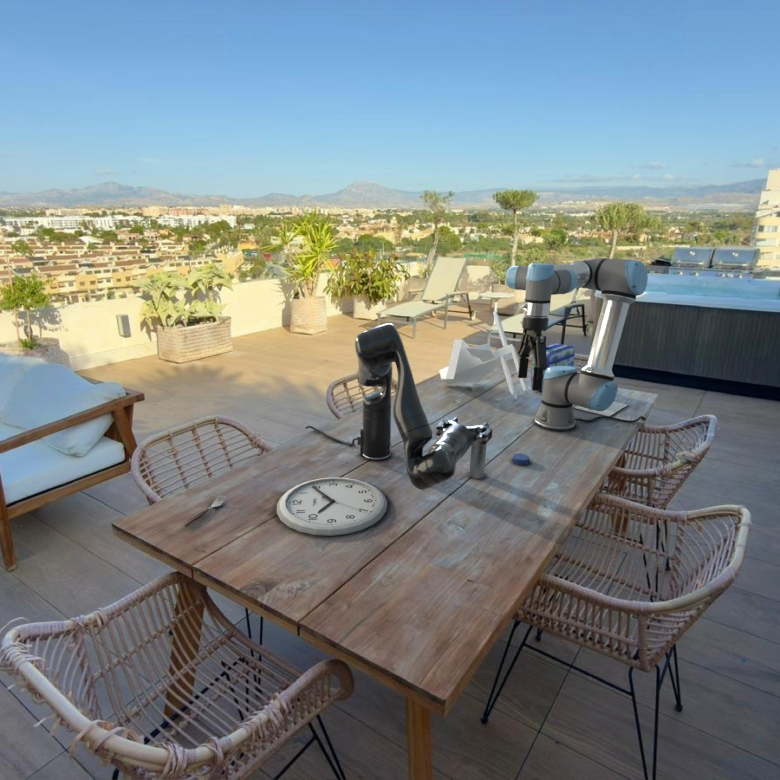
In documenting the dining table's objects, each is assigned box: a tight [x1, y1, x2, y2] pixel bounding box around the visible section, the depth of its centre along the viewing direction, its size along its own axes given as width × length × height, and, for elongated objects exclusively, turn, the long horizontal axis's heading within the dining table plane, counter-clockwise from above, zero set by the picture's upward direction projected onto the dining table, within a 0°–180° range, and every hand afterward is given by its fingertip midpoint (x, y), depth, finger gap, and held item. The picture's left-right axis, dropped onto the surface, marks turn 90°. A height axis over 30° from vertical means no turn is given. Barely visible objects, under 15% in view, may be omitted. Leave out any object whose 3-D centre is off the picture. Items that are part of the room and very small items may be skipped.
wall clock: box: [276, 476, 388, 537], centre depth 142 cm, size 30×2×30 cm
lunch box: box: [530, 343, 576, 391], centre depth 249 cm, size 26×11×21 cm, turn 134°
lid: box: [512, 453, 530, 466], centre depth 171 cm, size 5×5×2 cm
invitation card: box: [573, 400, 629, 417], centre depth 226 cm, size 21×1×15 cm
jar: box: [468, 424, 488, 480], centre depth 159 cm, size 4×4×16 cm
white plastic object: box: [438, 310, 531, 400], centre depth 245 cm, size 37×45×31 cm
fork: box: [184, 492, 228, 527], centre depth 137 cm, size 3×16×2 cm, turn 160°
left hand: (471, 422), depth 145 cm, fingers open, 8 cm apart
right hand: (529, 383), depth 164 cm, fingers open, 13 cm apart
